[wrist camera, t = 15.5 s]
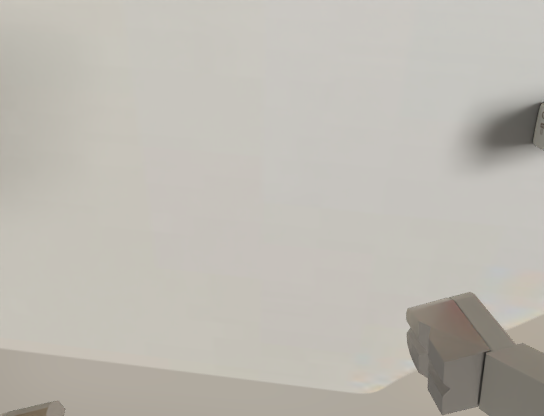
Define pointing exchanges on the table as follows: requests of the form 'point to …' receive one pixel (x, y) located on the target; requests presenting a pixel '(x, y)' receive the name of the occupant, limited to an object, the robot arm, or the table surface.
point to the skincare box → (539, 129)
